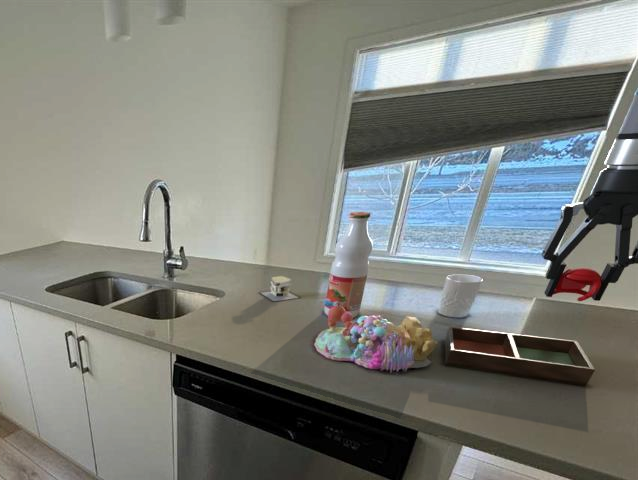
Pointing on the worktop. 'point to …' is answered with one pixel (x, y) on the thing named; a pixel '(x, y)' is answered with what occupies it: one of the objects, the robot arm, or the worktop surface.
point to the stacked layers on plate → (279, 289)
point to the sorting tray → (518, 355)
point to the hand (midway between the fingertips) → (571, 296)
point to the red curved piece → (579, 282)
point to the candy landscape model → (375, 341)
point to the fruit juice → (350, 266)
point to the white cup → (459, 294)
